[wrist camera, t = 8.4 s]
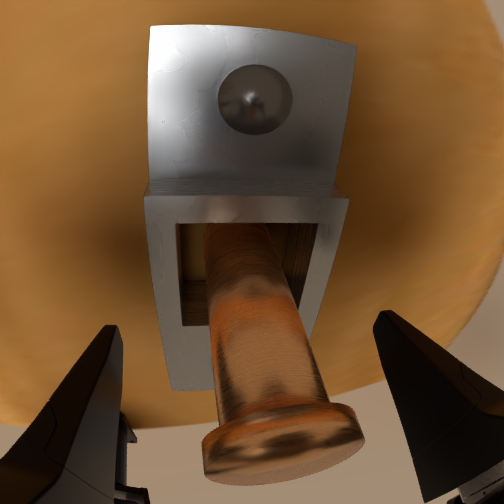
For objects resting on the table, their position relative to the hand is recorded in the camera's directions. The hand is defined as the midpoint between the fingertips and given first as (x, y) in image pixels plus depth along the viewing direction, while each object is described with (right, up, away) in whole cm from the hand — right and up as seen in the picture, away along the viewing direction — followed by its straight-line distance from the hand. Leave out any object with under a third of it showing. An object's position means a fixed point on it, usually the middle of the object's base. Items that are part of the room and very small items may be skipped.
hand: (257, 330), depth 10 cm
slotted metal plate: (-1, +3, +5) cm, 6 cm away
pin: (-1, +3, +5) cm, 6 cm away
